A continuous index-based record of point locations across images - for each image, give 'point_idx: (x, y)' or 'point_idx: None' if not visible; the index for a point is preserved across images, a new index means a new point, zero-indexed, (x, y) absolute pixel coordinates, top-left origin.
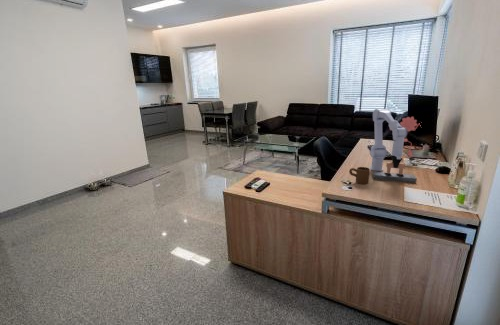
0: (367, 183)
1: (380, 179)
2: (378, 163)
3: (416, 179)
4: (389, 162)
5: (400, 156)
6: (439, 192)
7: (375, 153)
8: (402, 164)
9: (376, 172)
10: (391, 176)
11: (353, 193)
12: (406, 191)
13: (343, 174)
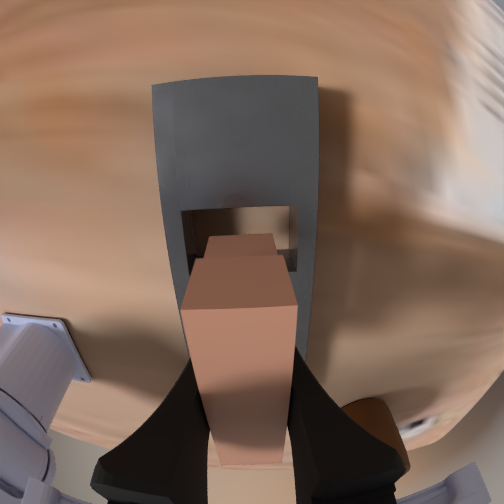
0: (378, 399)
1: None
2: (51, 390)
3: (313, 80)
4: (240, 454)
5: (487, 501)
6: (462, 17)
7: (46, 478)
8: (294, 340)
9: None
10: (308, 321)
11: (462, 401)
12: (486, 221)
13: None
